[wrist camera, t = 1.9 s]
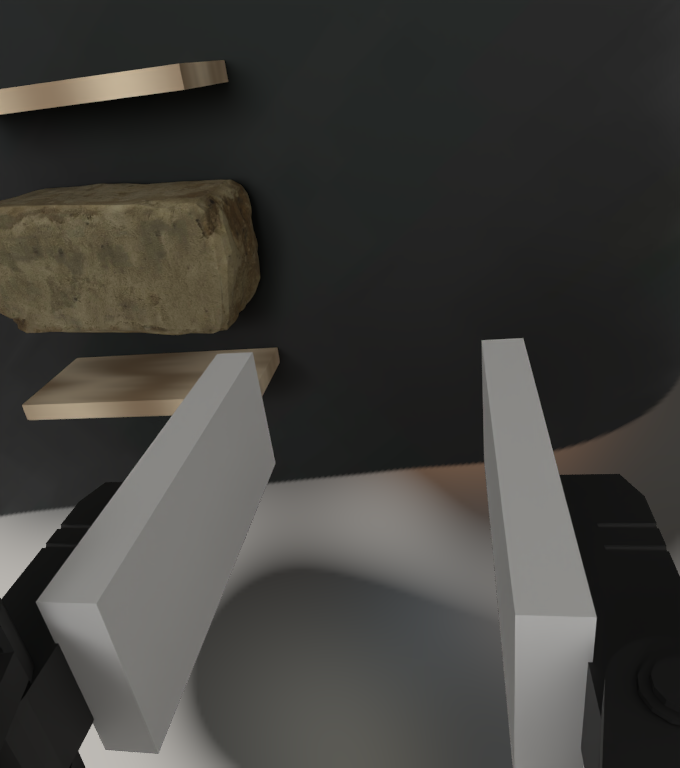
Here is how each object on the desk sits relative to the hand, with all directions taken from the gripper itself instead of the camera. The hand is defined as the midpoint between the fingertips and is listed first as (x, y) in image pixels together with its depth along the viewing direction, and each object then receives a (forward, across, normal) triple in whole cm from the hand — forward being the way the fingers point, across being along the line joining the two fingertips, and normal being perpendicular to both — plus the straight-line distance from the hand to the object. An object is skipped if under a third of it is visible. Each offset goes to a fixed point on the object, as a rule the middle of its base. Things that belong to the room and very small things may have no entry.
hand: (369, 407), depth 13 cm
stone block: (+17, -12, 0) cm, 21 cm away
